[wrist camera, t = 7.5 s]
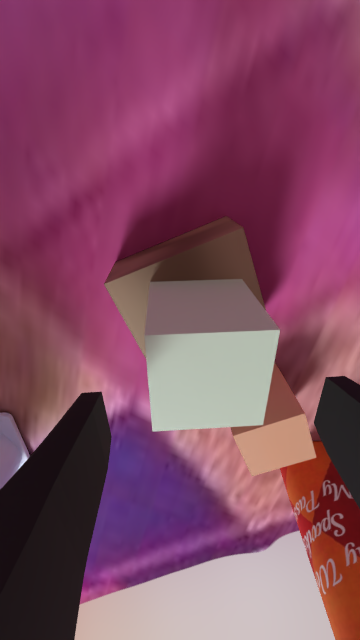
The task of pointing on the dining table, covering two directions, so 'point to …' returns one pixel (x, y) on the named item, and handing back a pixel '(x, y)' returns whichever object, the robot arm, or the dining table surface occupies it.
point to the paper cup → (329, 537)
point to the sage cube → (208, 354)
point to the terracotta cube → (276, 432)
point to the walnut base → (181, 268)
